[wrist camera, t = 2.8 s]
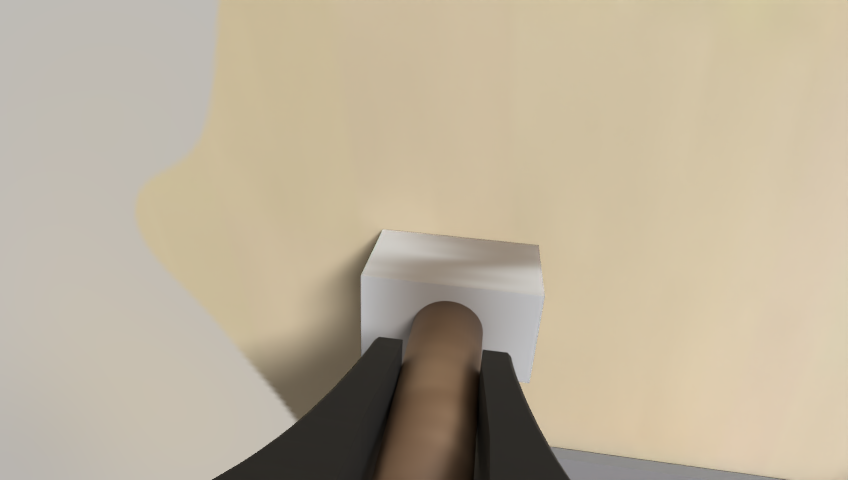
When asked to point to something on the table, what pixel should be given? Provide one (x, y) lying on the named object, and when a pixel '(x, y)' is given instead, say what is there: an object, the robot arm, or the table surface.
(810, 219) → the table surface
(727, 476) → the mat
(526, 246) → the trowel
